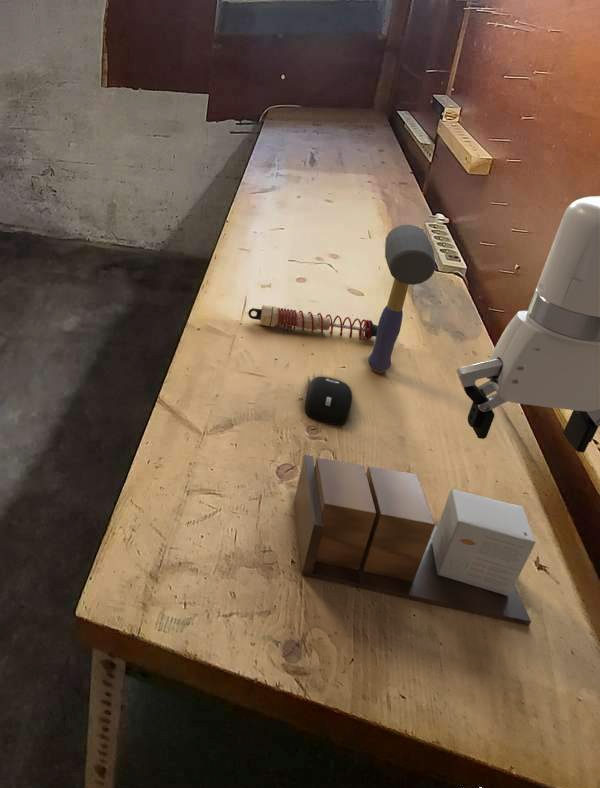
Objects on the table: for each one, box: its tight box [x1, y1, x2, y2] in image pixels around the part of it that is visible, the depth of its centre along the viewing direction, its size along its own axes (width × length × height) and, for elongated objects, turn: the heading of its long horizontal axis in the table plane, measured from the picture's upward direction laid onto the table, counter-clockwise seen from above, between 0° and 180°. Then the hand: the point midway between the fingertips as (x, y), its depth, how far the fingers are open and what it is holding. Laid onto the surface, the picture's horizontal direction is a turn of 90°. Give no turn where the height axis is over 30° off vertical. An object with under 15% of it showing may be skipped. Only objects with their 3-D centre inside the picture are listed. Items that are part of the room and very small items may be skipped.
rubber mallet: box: [367, 224, 436, 374], centre depth 106 cm, size 12×8×30 cm, turn 156°
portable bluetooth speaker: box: [304, 376, 353, 426], centre depth 104 cm, size 8×12×4 cm, turn 150°
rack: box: [293, 454, 532, 626], centre depth 74 cm, size 26×12×12 cm, turn 74°
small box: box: [432, 488, 536, 596], centre depth 72 cm, size 8×6×10 cm
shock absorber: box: [247, 304, 378, 341], centre depth 125 cm, size 5×5×30 cm
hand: (523, 436), depth 66 cm, fingers open, 9 cm apart
